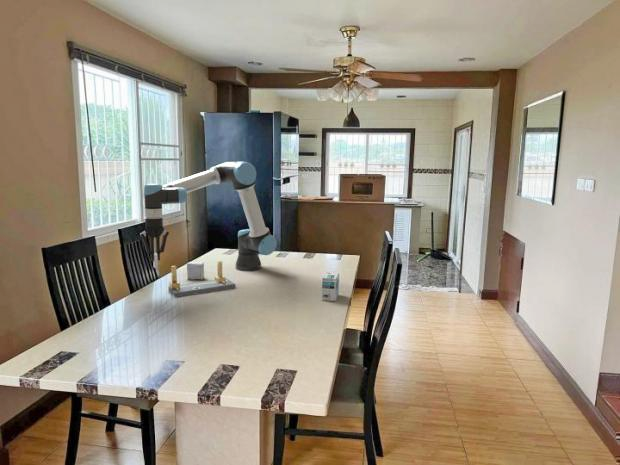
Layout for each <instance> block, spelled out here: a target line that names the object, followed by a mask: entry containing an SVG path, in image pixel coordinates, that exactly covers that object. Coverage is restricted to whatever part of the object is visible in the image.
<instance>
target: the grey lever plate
mask: <svg viewBox="0 0 620 465" xmlns="http://www.w3.org/2000/svg"><path fill="white" fill-rule="evenodd" d="M216 263H217V264H216V265H217V266H216V267H217V275H215V276H214V279H211V280H205V281H198V282H190V283H185V284H184V283H183V284H180V288H178V289H179V291H177V290H176V289H171V288H170V287H169V285H168V287H167V288H168V289H167V290H168V292H170V294H171V295H172V294H173V295H174V296H175V297H174V296H173V295H172V296H173V297H174V298H177V296H179V297H183V296H182V295H185V296H189V295H188V294H192V295H196V294H195V293H199V294H204V293H203V292H205V293H210V292H211V291H212V292H217V291H223V290H229V289H236V283H235V282H234V281H232V280H230V279H228V278H227V277H225V276H224V274H223V261H222V260H218V261H217V262H216Z"/></svg>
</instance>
